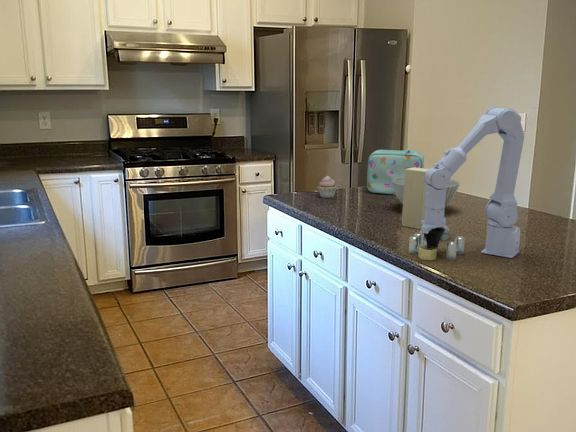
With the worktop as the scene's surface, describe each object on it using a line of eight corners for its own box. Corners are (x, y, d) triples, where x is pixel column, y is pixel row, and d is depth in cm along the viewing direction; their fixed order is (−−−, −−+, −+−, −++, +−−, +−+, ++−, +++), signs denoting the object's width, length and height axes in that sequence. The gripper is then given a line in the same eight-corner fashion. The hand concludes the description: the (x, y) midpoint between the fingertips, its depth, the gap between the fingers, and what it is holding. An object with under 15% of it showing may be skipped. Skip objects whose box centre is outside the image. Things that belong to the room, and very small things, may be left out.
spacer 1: (419, 252, 176) (420, 236, 175) (415, 254, 174) (416, 238, 173) (411, 251, 178) (411, 235, 177) (407, 253, 176) (408, 237, 174)
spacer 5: (464, 252, 176) (466, 237, 175) (461, 254, 174) (463, 239, 173) (456, 251, 178) (457, 235, 177) (452, 253, 175) (454, 237, 174)
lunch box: (425, 193, 270) (428, 148, 266) (423, 197, 261) (426, 150, 256) (369, 190, 278) (371, 146, 274) (365, 194, 269) (367, 148, 264)
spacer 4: (457, 258, 171) (458, 242, 169) (453, 260, 168) (455, 244, 167) (448, 256, 172) (449, 240, 171) (444, 258, 170) (445, 242, 169)
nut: (437, 256, 172) (438, 246, 171) (434, 261, 168) (435, 250, 167) (419, 254, 174) (420, 244, 173) (416, 258, 170) (417, 248, 169)
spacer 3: (429, 245, 184) (430, 230, 183) (425, 247, 181) (426, 232, 180) (420, 244, 185) (421, 229, 184) (417, 246, 183) (418, 231, 182)
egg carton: (423, 232, 201) (424, 221, 200) (445, 233, 200) (446, 222, 199) (427, 240, 190) (427, 228, 190) (450, 241, 189) (451, 229, 189)
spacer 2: (423, 248, 180) (424, 233, 179) (420, 250, 178) (421, 235, 177) (415, 247, 182) (416, 232, 181) (411, 249, 179) (412, 234, 178)
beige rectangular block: (431, 225, 209) (434, 169, 204) (420, 229, 204) (423, 171, 199) (411, 222, 214) (414, 166, 210) (401, 225, 209) (404, 169, 204)
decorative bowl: (455, 220, 218) (457, 189, 215) (385, 215, 226) (386, 185, 223) (458, 206, 242) (460, 178, 240) (395, 202, 251) (396, 175, 248)
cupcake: (331, 194, 268) (331, 173, 265) (341, 198, 259) (341, 176, 257) (313, 196, 264) (313, 174, 262) (322, 199, 256) (323, 177, 253)
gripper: (431, 202, 179) (428, 244, 182) (412, 210, 167) (410, 254, 170) (453, 205, 175) (450, 247, 178) (435, 213, 163) (432, 259, 166)
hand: (432, 251), depth 174 cm, fingers closed
